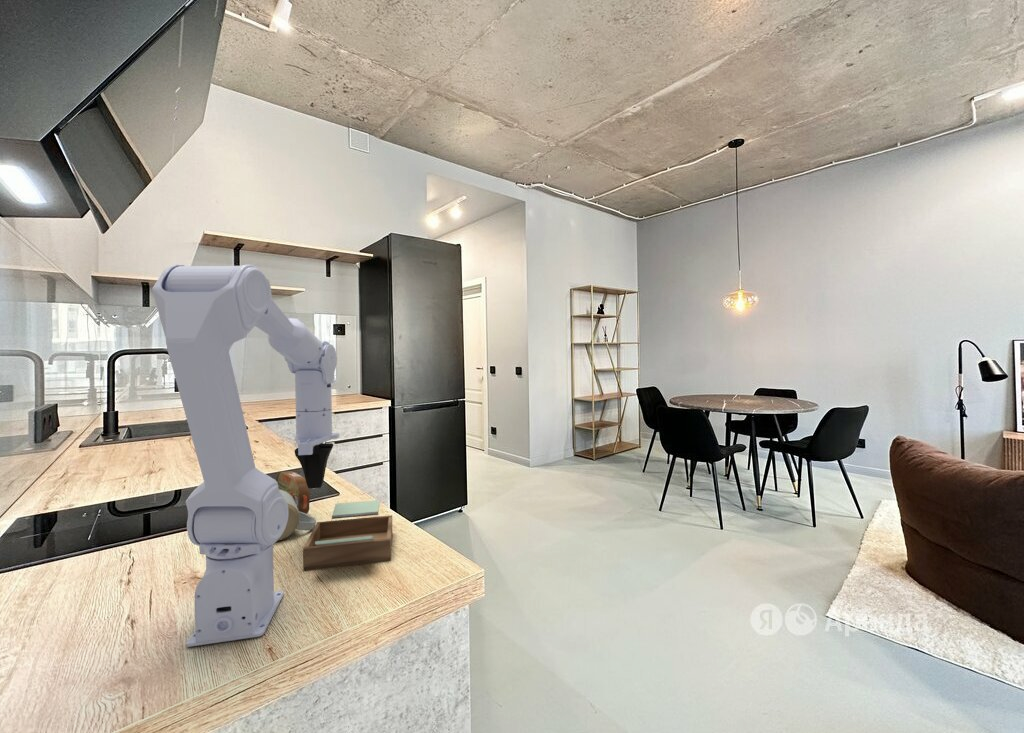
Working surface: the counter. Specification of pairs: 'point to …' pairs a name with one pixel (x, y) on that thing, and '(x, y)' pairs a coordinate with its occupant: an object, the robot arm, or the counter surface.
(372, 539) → the flap near
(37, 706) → the counter surface
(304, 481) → the tin
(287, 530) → the ceramic mug
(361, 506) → the flap far
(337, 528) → the crate
